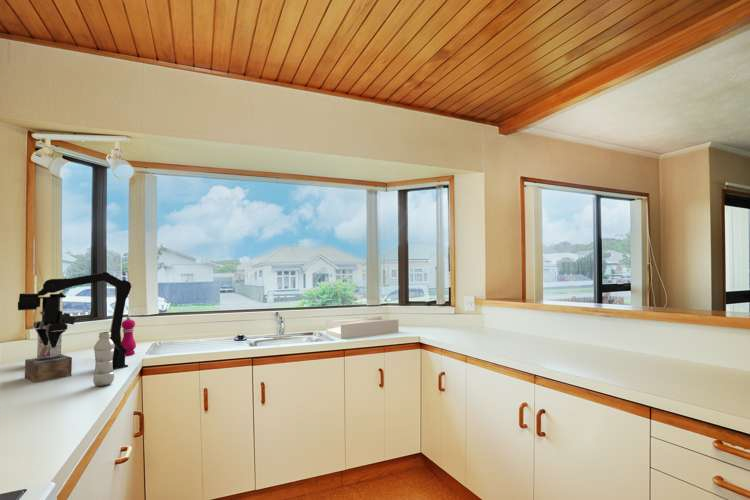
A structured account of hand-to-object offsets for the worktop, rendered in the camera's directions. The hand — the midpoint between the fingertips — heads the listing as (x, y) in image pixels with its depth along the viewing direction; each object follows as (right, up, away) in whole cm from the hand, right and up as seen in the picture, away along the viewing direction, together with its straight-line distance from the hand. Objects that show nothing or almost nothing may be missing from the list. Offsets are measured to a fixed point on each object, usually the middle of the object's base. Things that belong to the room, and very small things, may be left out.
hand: (49, 346), depth 160 cm
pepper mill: (+6, -15, +41) cm, 44 cm away
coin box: (0, -12, -1) cm, 13 cm away
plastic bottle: (+32, -12, -13) cm, 37 cm away
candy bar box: (-19, -14, +21) cm, 32 cm away
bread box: (+128, -18, +105) cm, 166 cm away
